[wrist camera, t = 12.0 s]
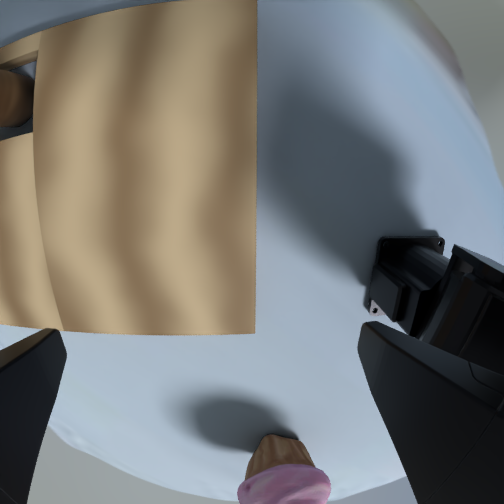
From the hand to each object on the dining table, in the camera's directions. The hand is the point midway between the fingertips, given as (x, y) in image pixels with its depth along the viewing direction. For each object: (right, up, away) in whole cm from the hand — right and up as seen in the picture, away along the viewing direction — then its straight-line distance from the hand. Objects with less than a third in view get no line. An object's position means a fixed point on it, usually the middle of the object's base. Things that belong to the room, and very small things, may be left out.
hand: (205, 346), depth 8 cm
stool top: (-10, +8, +10) cm, 16 cm away
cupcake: (+4, -18, +21) cm, 28 cm away
